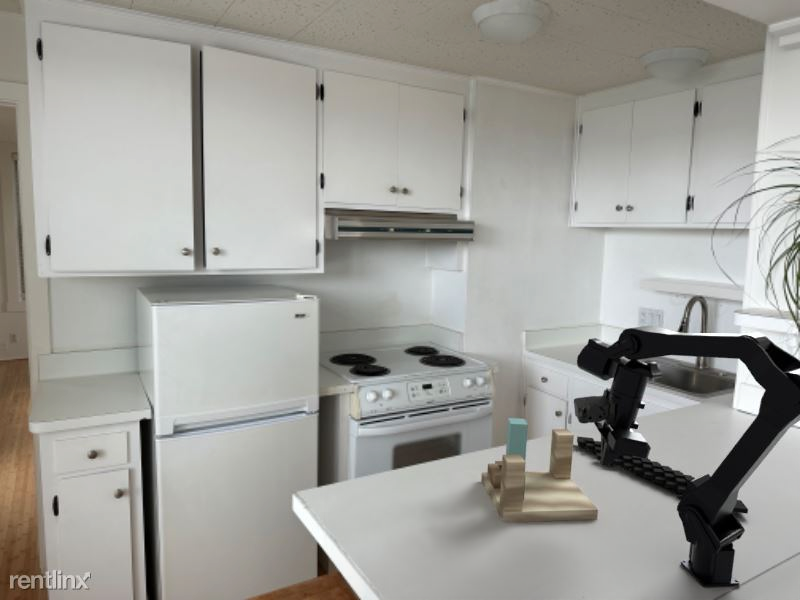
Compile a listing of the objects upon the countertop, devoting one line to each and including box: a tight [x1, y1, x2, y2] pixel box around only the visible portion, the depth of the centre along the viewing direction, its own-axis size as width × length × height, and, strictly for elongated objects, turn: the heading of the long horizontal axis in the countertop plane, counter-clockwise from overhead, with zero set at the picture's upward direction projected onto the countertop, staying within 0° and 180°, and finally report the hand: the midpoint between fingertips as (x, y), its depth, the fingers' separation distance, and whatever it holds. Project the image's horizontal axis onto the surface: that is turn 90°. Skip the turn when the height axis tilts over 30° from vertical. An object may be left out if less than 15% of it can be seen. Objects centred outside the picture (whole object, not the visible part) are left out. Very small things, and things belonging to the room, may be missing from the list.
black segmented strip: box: [576, 436, 749, 515], centre depth 130 cm, size 11×40×4 cm, turn 33°
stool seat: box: [480, 428, 599, 523], centre depth 116 cm, size 17×19×12 cm
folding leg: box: [505, 417, 529, 462], centre depth 116 cm, size 7×4×13 cm, turn 179°
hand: (604, 465), depth 107 cm, fingers closed
